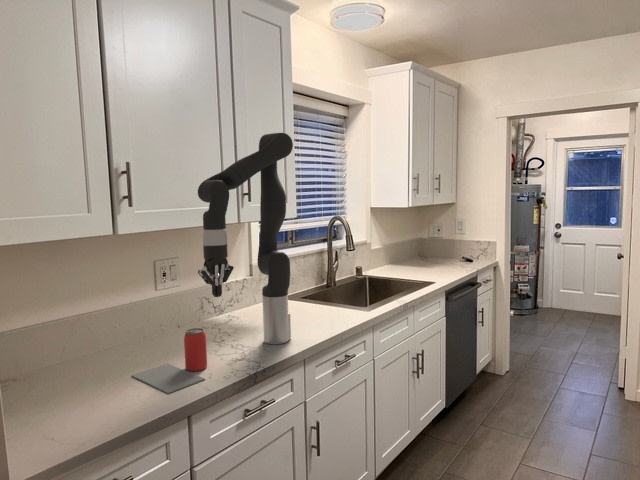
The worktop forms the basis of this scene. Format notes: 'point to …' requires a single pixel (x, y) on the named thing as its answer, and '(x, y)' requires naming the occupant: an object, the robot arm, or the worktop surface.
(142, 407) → the worktop surface
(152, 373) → the slate mat
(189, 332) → the beer can
